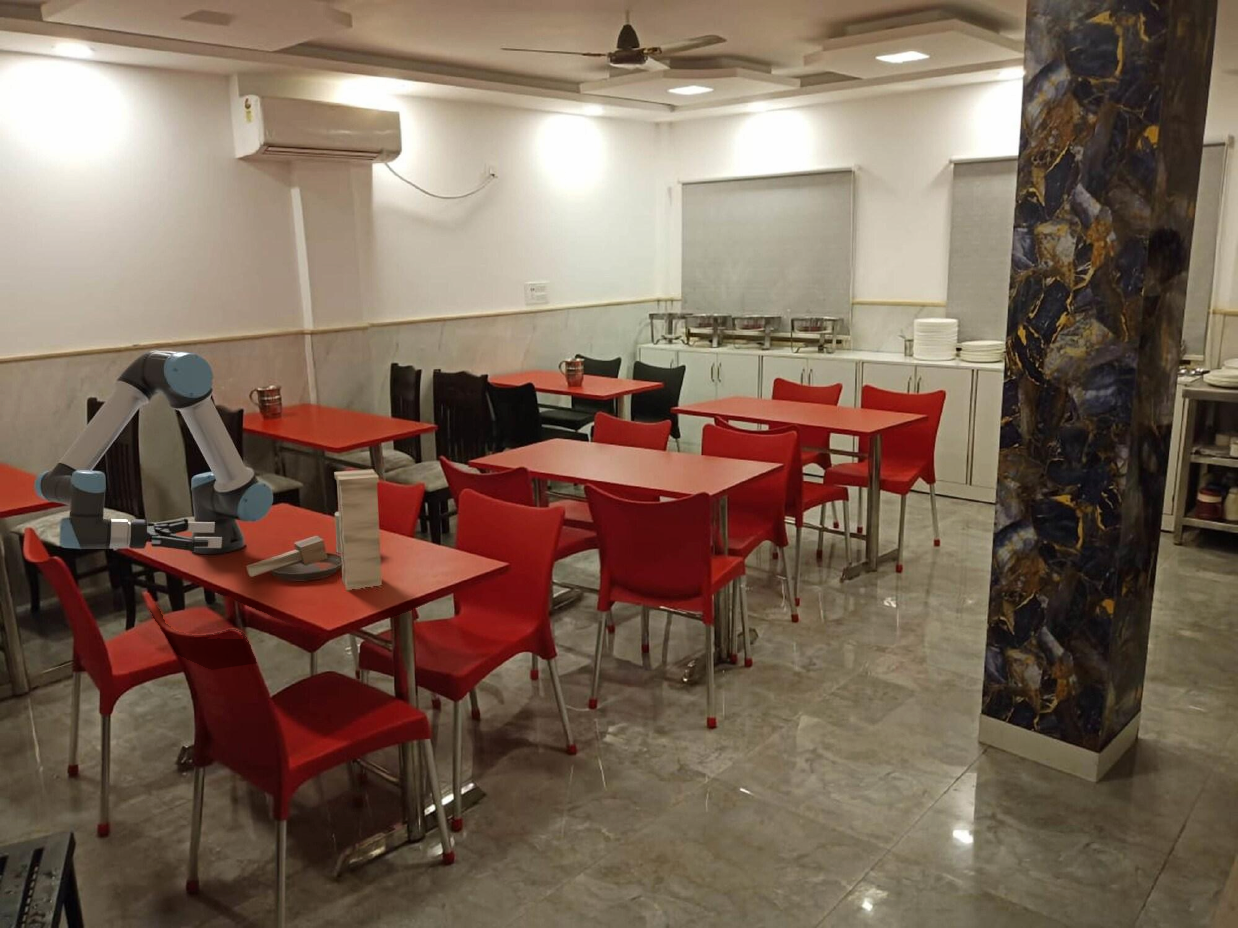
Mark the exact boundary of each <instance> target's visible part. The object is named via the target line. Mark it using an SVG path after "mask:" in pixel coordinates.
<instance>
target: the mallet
mask: <svg viewBox="0 0 1238 928" xmlns="http://www.w3.org/2000/svg"><path fill="white" fill-rule="evenodd" d="M293 545H294V548H295V549H294V550H290V551H287V552H284V553H282V554H279V555H275V556H272V557H269V558H266V559H263V560H260V561H257V562H255V563H252V564H248V565H246V571H247V573H248V574H247V575H248V576H249V577H251V578H252V577H255V576H259V575H261V574H264V573H267V572H270V570H273V569H276V568H279V567H282V566H285V565H288V564H291V563H294V562H297V561H299V562H300V563H302V564H303V565H304V566H306V565H309V564H312V563H315V562H318V561H321V560H324V559H327V558H328V557H327V553H328V552H327V549H326V545H325V540H324V539H323V538H321V537H319V536H318V535H314V536H311V537H307V538H305V539H302V540H298V541H295V542H294V543H293ZM326 552H327V553H326Z"/></svg>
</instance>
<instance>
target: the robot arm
mask: <svg viewBox="0 0 1238 928" xmlns="http://www.w3.org/2000/svg"><path fill="white" fill-rule="evenodd" d="M213 379H214V372H213V370H212V367H211V365H210V363H209V362H208V361H207V360H206V359H205V358H204V357H203V356H201V355H198V354H196V353H192V352H189V351H172V350H171V351H170V350H163V349H156V350H155V349H154V350H149V351H147V352H145V353H143V354H142V355H140V356H138V357H137V358H135V360H134V361H133V362H131V363H130V364H129V365H128V366H127V367H126V369H125V370H124V371H123V372H122V373H121V374H120V376H119V377H118V378H116V381H115V382H114V386H115V389H114V390H113V391H112V392H111V394H110V395H109V397H107V399H106V400H105V402H104V403H103V404H102V405H101V406H100V408H99V410H97V411H96V413H95V415H94V416H93V417H92V419H90V421H89V422H88V424H86V426H85V427H84V429H83V430H82V431H81V432H80V434H79V435H78V437H77V438H76V439H75V440H74V442H73V443H72V444H71V446H70V447H69V448H68V449H67V451H66V452H65V453H64V454H63V456H62V457H61V459H59V461H58V462H57V464H56V465H55V466H54V468H52V470H46V471H44V472H42V473H39V475H37V477H36V479H35V480H34V484H33V486H34V487H33V489H34V491H35V493H36V495H37V496H38V497H39V498H41V499H43V500H46V501H48V502H51V503H57V504H62V505H67V506H69V516H67V517H63V518H61V519H60V522H59V539H58V540H59V545H60V547H62V548H65V549H66V548H67V549H78V550H85V549H92V550H94V549H108V550H109V549H113V551H118V549H127V548H128V547H129V548H130V549H131V550H134V549H135V550H143V549H145V548H146V546H147V543H151V545H150V546H151V547H157V548H159V547H160V548H161V547H162V548H167V549H175V550H181V551H189V552H193V553H195V554H200V555H217V554H218V555H219V554H225V553H231V552H234V551H237V550H240V549H241V548H244V547H245V544H246V543H245V537H244V534H243V532H242V530H241V528H240V525H239V523H238V521H242V522H245V523H246V522H249V523H254V522H259V521H260V520H262V519H264V518H265V517H266V516H267V515H268V514H269V512H270V511H271V508H272V505H273V502H274V494H273V493H274V492H273V491H272V488H271V486H270V485H268V484H267V483H264V482H262V481H259V479H258V477H257V475H256V473H255V471H254V470H253V468H251V467H248V466H245V464H244V461H243V460H242V457H241V456H240V454H239V452H238V450H237V448H236V446H235V444H234V442H233V439H232V438H231V435H230V434H229V432H228V430H227V428H226V426H225V424H224V422H223V420H222V417H221V416H220V414H219V413H218V412H219V411H218V410H217V409H216V406H215V404H214V401H213V400H212V398H211V397H212V395H213V392H214V389H213V387H212V386H213V383H214V382H213ZM158 394H162V395H164V397H165V399H166V401H167V402H168V404H169V406H170V408H172V410H176V411H179V412H180V414H181V417H182V418H183V420H184V422H185V423H186V426H187V428H188V429H189V431H190V434H191V435H192V437H193V439H194V440H195V442H196V444H197V446H198V449H199V451H200V452H201V453H202V456H203V457H204V460H205V461H206V463H207V465H208V467H209V468H210V470H211V471H207V472H203V473H199V474H196V475H194V476H193V477H192V478H191V487H190V490H191V494H192V495H191V497H192V507H193V517H194V518H193V519H194V521H189V518H182V519H174V520H166V521H165V520H164V521H155V522H154V521H153V522H152V521H150V522H148V521H147V520H146V519H136V518H135V519H134V518H132V519H131V520H130V521H129V519H127V518H104V517H105V516H104V513H105V512H104V509H105V501H106V489H107V486H106V474H105V472H104V471H100V470H93V469H95V467H96V465H97V464H98V463H99V461H101V459H102V457H103V456H104V455H105V454H106V452H107V451H108V450H109V448H110V447H111V446H112V444H113V443H114V442H115V440H117V438H118V437H119V435H120V433H122V431H123V430H124V428H125V427H126V426H127V425H128V423H129V422H130V421H131V420H132V418H133V417H134V416H135V414H136V413H137V411H138V410H139V409H140V407H141V406H142V405H143V406H144V405H147V404H149V402H150V401H151V400H152V399H153V397H155V396H157V395H158ZM183 532H187V533H192V534H191V537H189V536H185V535H179V533H183Z"/></svg>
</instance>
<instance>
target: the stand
mask: <svg viewBox="0 0 1238 928" xmlns="http://www.w3.org/2000/svg"><path fill="white" fill-rule="evenodd" d="M333 474H334V479H335V480H336V485H337V486H336V487H337V488H336V489H337V490H336V491H337V503H338V504H337V505H338V506H337V508H338V511H339V526H340V544H341V554H340V556H341V561H342V566H341V577H342V582H343V584H344V586H345V589H346V591H353V590H352V589H355V590H362V589H361V588H363V589H366V588H365V587H371V588H374V587H373V586H378V585H382V586H383V582H382V580H383V579H382V565H381V564H382V561H381V543H380V542H381V540H380V519H379V500H378V496H379V495H378V483H380V477H379V476H380V475H378V473H376V472H375V470H374V469H373V468H370V469H369V468H368V469H357V470H342V471H334V472H333Z"/></svg>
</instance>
